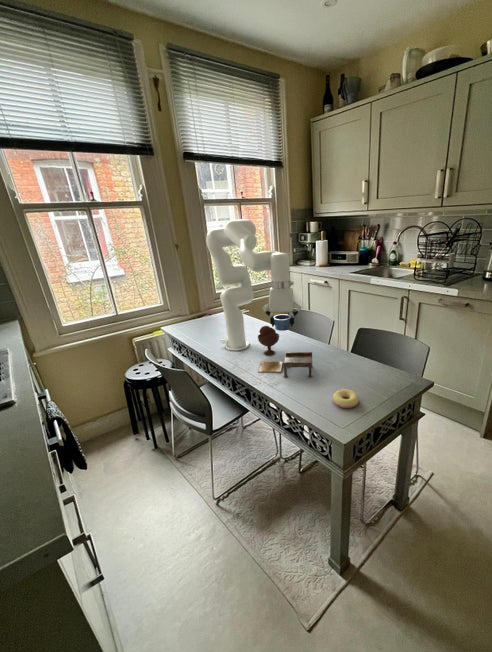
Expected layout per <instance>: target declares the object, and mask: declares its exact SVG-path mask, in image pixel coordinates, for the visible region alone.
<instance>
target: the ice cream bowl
mask: <svg viewBox="0 0 492 652" xmlns="http://www.w3.org/2000/svg"><path fill="white" fill-rule="evenodd" d="M258 332H259V334H258V335H257V341H258V342H259V344H261V345H262V346H264V347H266V348H267V350H265V351H264V353H263V354H264V356H273V355H275V354H276V352H275V351H274V350H273V349H272V347H274V346H275V345H276V344H277V343H278V342H279V340H280V334H279V333H278V332H277V330H276V329H275V328H274V327H272V326H269V325H263V326H261V327H260V328H259V331H258Z"/></svg>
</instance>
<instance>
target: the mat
mask: <svg viewBox="0 0 492 652" xmlns="http://www.w3.org/2000/svg"><path fill="white" fill-rule="evenodd" d="M283 362H284V361H262V362H261V364H260V367H259V369H258V373H278V374H279V373H281V372H282V368H283V366H284V365H283Z"/></svg>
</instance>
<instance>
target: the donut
mask: <svg viewBox="0 0 492 652" xmlns="http://www.w3.org/2000/svg"><path fill="white" fill-rule="evenodd" d="M332 400H333V403H334V404H335V405H336V406H337V407H338V408H339V407H340V408H342V409H351V408H354V407H355V406H357V405H358V403H359V401H360V397H359V395H358V394H357V392H355V391H354V390H352V389H347V388H343V389H342V388H341V389H338V390H337V391H335V392H334V394H333V396H332Z"/></svg>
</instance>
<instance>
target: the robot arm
mask: <svg viewBox="0 0 492 652" xmlns="http://www.w3.org/2000/svg"><path fill="white" fill-rule="evenodd" d="M256 233H257V228H256V225H255V223H254V222H253V221H252V220H250V219H247V218H246V219H245V218H244V219H233V220H229V221H228V222H226V223H225V225H224V226H223V227H220V228H219V227H218V228H213V229H211V230H209V231H208V232H207V234H206V239H205V240H206V246H207V249H208V252H209V253H210V256H211V258H212V260H213V265H214V268H215V272H216V275H217V278H218V282H219V284H220V285H221V286H222V287H229V286H235V285H238V286H235V287H230V288H226V289H224V290H222V291H221V293H220V295H219V298H220V299H219V300H220V302H221V305H222V309H223V314H224V321H225V331H226V336H227V338H220V343H221V344H223V345H225V349H226V350H228V351H234V352H235V351H236V352H237V351H242V350H245V349H248V347H250V343H249V341H248V340H246V339H247V338H246V330H245V321H244V314H243V312H242V310H241V309H240V308H239V307H241V306H243V305H248V304H250V303H252V302H253V301H254V289H253V285H252V282H251V281H252V280H251V277H250V276H251V275H250V272H249V270H250V271H252V272H255V273H260V272H264V271H270V281H271V287H270V288H269V297H268V303H266V304H265V305H264V306H263V307H262V311H263V312H264V313H265V314H266V315H267V316H268V318H269V321H270V322H269V323H270V325H271V328H274V327H275V324H274V320H273V318H274V316H275V315H274V314H275V313H288V314H289V316H291V318H290V322H291V323H290V328H291V327H293V325H295V317H296V316H297V315H298V314H299V312H301V310H302V306H301V305H299V304H298V303H296V302H295V297H294V290H293V287H292V286H294V281H291V270H290V269H291V267H290V255H289V253H288V252H279V251H278V250H272V249H271V250H264V251H258V252H254V251H253V250H254V249H255V248H256V246H257V243H258V239H257V236H256ZM235 246H236V247H237V248H238V249H239V257H240V260H241V262H242V263H243V264H244V265H243V264H241V263H240V264H233V262H232V257H231V255H230V253H229V252H228V251H227V250H226V249H225V248H226V247H235ZM247 268H248V269H249V270H248V269H247ZM295 308H296V310H294V309H295Z"/></svg>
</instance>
